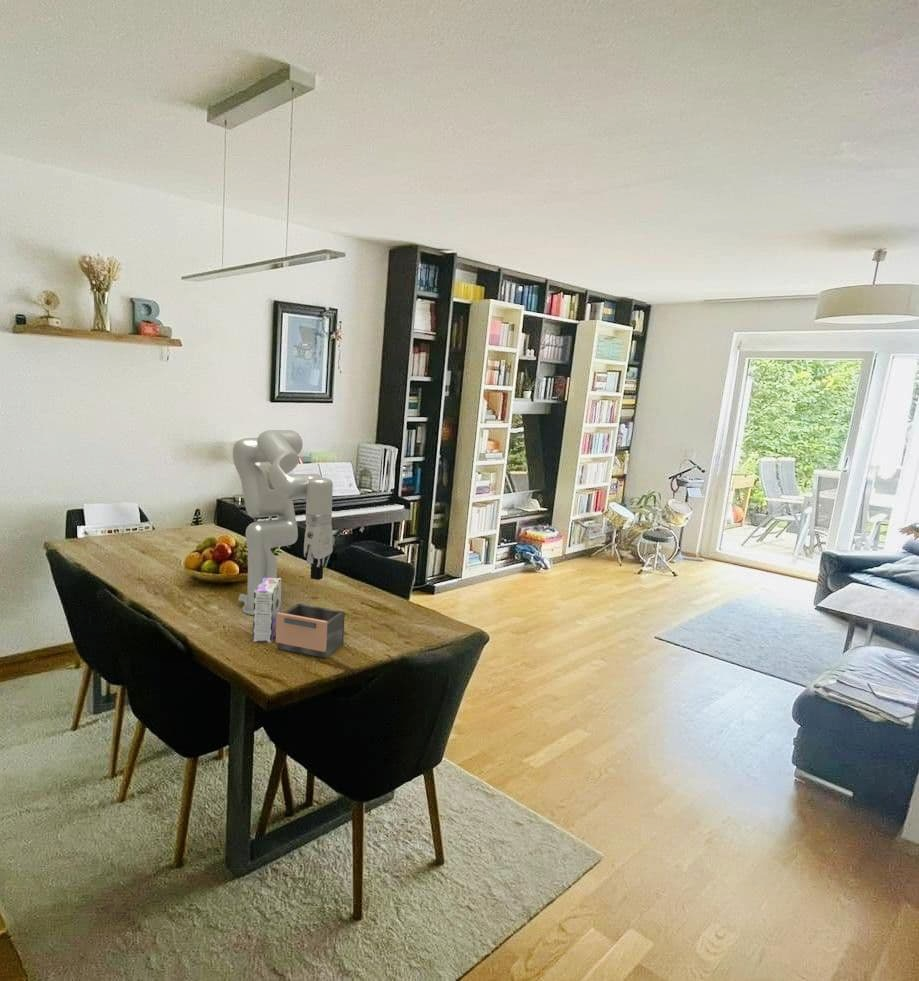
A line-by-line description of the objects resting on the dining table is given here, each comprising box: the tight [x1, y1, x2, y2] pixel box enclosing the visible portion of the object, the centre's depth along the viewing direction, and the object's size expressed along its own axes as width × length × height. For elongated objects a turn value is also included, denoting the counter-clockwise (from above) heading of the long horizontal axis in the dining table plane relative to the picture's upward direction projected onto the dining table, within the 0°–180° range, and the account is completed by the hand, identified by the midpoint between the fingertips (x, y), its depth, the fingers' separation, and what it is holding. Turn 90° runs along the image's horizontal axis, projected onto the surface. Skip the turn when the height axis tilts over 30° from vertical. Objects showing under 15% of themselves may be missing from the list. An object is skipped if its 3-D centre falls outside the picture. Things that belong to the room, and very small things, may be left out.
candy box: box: [252, 577, 282, 644], centre depth 193 cm, size 14×6×16 cm, turn 5°
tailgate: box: [275, 611, 328, 652], centre depth 180 cm, size 16×2×9 cm, turn 75°
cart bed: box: [277, 603, 346, 659], centre depth 187 cm, size 16×11×10 cm
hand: (316, 578), depth 186 cm, fingers closed
